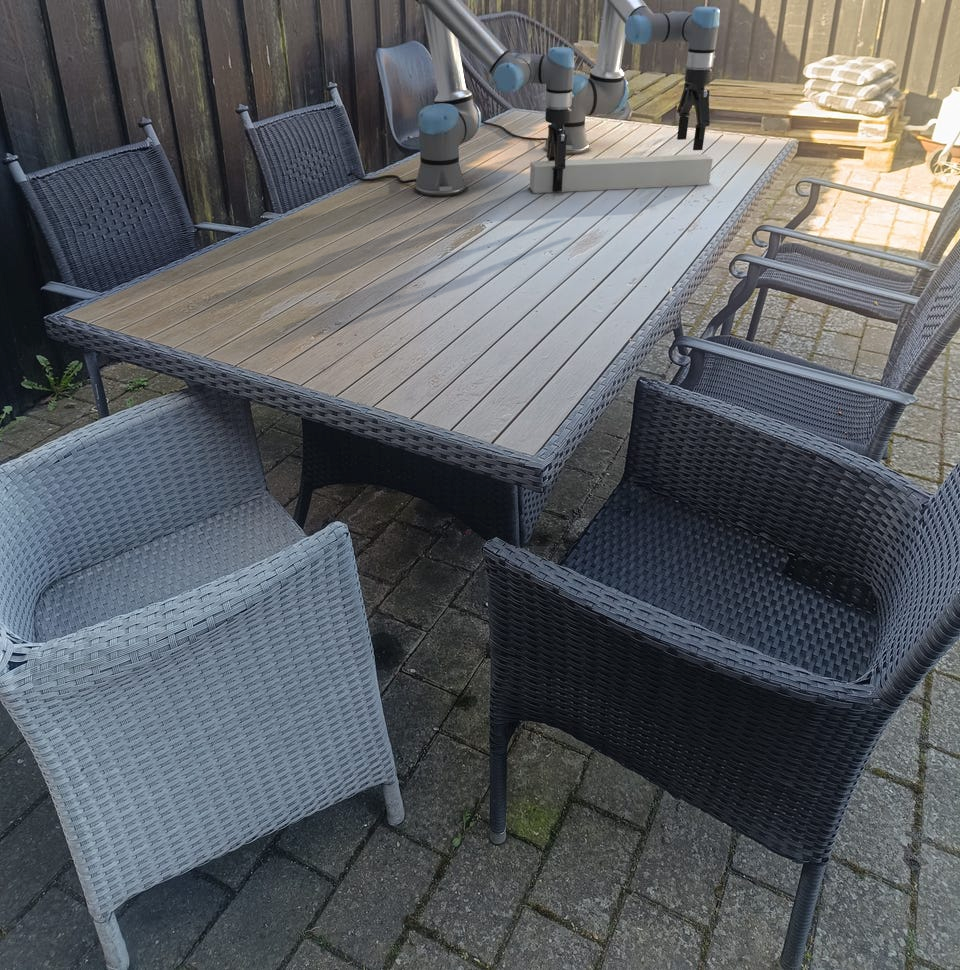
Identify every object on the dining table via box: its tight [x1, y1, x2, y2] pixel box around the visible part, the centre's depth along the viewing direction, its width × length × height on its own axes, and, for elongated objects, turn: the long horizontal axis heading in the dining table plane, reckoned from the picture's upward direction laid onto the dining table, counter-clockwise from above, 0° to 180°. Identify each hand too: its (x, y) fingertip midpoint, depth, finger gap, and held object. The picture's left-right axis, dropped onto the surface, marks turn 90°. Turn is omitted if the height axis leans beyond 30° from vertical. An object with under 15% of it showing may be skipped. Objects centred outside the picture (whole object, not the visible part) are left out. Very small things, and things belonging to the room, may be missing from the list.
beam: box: [529, 153, 714, 194], centre depth 259 cm, size 56×6×8 cm, turn 99°
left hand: (554, 187), depth 259 cm, fingers closed on beam, 6 cm apart
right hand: (689, 144), depth 257 cm, fingers open, 13 cm apart
